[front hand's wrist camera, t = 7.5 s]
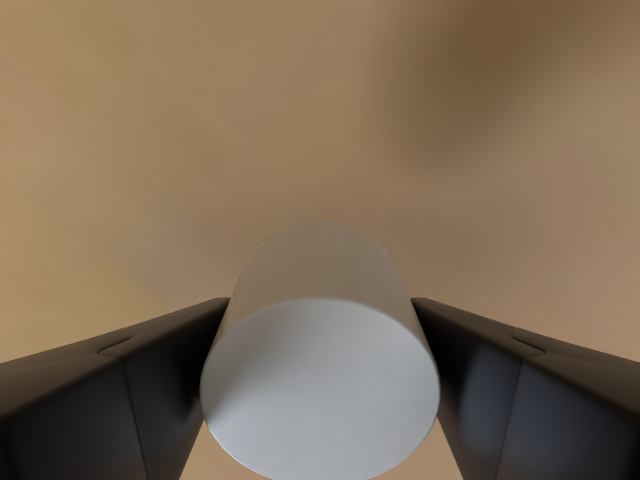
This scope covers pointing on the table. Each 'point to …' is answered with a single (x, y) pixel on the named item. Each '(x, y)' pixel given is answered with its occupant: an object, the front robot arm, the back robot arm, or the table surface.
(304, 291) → the canister
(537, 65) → the table surface
